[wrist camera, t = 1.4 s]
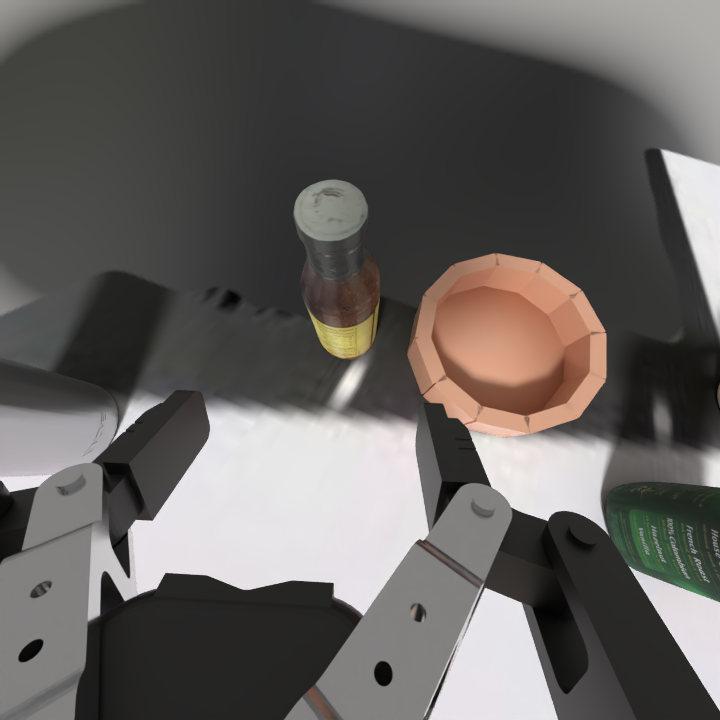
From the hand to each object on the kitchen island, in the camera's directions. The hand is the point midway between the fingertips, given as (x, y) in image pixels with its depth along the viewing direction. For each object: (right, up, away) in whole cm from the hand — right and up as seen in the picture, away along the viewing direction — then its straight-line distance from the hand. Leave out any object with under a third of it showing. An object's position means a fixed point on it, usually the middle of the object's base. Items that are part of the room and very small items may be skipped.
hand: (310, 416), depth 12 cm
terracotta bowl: (+16, +3, +24) cm, 29 cm away
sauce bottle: (0, +5, +24) cm, 25 cm away
